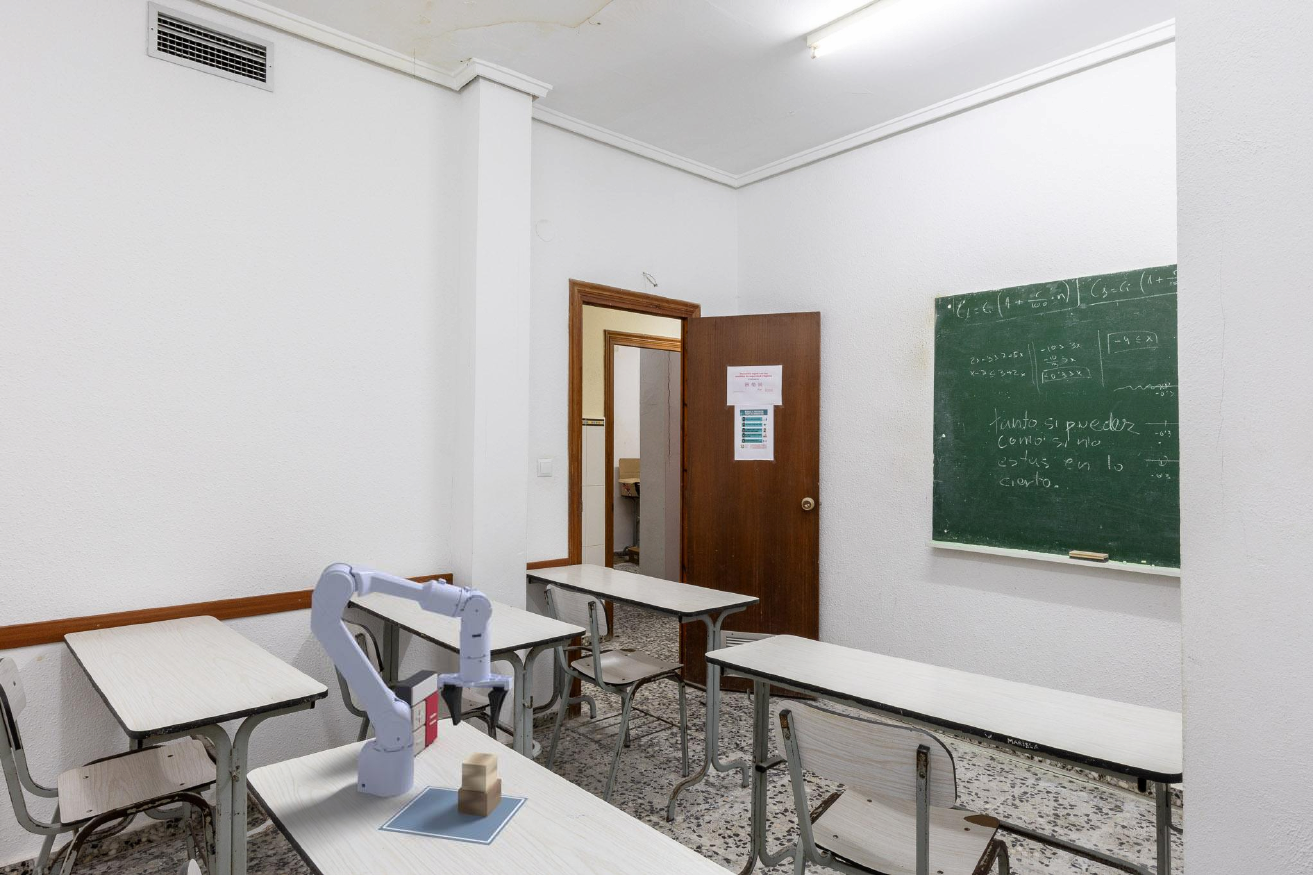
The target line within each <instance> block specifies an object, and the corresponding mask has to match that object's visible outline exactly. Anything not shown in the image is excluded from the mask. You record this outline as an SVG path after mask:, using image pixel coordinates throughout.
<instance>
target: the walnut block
mask: <svg viewBox="0 0 1313 875" xmlns="http://www.w3.org/2000/svg"><path fill="white" fill-rule="evenodd" d="M457 790H458V813H460V814H468V815H475V816H483V817H488V816H489V814H490V813H491V812H492V811H493V810H494V809H495V808H496V807H497V806H498V804H499V803H500V802H501V795H502V778H497V781H496V782H495V783H494V784H493V785H492V786H491V787H490V788H489V789H488V790H487V791H486V792H481V791H472V790H463V789H462V786H460V788H458V789H457Z"/></svg>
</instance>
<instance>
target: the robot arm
mask: <svg viewBox="0 0 1313 875" xmlns="http://www.w3.org/2000/svg"><path fill="white" fill-rule="evenodd" d="M355 592H357V598H362V597H363V596H367V595H369V594H372V593H379V594H384V595H387V596H388V595H389V596H393V597H398V598H402V599H407V600H410V601H411V600H412V601H415V602H417V603H418V605H419V606H420V608H421V610H423V611H427V612H429V613H434V614H438V615H442V616H444V617H445V616H446V617H449V618H455V619H456V618H460V630H459V672H458V673H442V674H440V675H439V676H437V688H442V690H441V691H440V696H441V698H442V699H443V700H444V702H445V705H446V706H447V708H448V711H449V715H450V716H451V717H450V718H451V720H452V725H453V726H454V727H455V726H458V725H459V724H460V723H461V722H462V697H463V688H479V689H480V688H481V689H483V688H484V689H491V690H490V691H489V692H488V693H487V698H488V703H489V712H490V721H489V722H490V723H489V724H490V728H491V729H494V728H496V727H497V725H498V724H499V720H500V715H501V712H502V711H501V710H502V707H503V704H504V701H505V699H506V697H507V695H508V692H509V691H510V690H511V689H512V688H514V681H513V680H514V677H513V676H505V675H500V674H494V673H491V629H490V623H491V622H490V619H491V617H492V614H493V607H492V604H491V602H490V600H489V599H488V596H486V595H485V593H484V592H483V591H481V590H478V589H477V588H470V587H469V586H464V587H459V586H456V585H452V584H449V583H447V581H446V579H443V578H441V577H440V578H438V580H434V579H431V580H429V581H427V582H425V583H419V582H416V581H413V580H410V579H407V578H403V577H401V576H396V575H394V574H390V573H387V572H385V571H381V570H378V569H375V568H371V567H366V566H363V565H358V564H356V565H355V564H353V566H351V565H350V564H348V563H346V562H335V563H331V564H329V565H328V566H327V567H326V568H325V569H324V570H323V571H322V573H321V574H320V576H319V579H318V580H317V582H316V585H315V587H314V590H313V591H312V593H311V612H310V629H311V632H312V633H313V635H314V636H315V638H316V639H317V640H318V643H320V645H321V646H322V648H323V650H324V651H325V652H326V654H327V655H328V656H329V658H330V659H331V661H332V662H333V663H334V665H335V666H336V668H337V669H338V671H339V672H340V673H341V676H342V677H343V678H344V679H345V681H346V682H347V684H348V685H349V687H350V688H351V690H352V691H353V692H354V694H355V695H356V697H357V698H358V699H359V701H360V703H361V704H362V706H363V707H364V709H365V712H366V713H367V716H368V719H369V722H370V724H371V725H372V726H373V728H374V731H375V739H371V740H368V741H367V742H365V743H364V745H363V746H362V747H361V749H360V752H359V754H358V759H357V792H358V793H364V794H371V795H374V796H377V797H381V798H391V797H393V798H394V797H397V796H401V795H404V794H406V793H407V792H409V791H411V790H412V789H413V788H414V783H415V781H414V780H415V756H414V736H413V735H412V733H413V727H412V723H411V709H410V707H409V705H408V704H407V703H406V702H405V701H403V700H400V699H399V698H397V697H396V696H395V692H394V691H392V690H391V689H390V688H389V687H388V686H387V685H386V684H385V682H384V680H383V679H382V678H381V677H380V674H379V673H378V672H377V670H376V669H375V668H374V666H373V665H372V663H371V662H370V660H369V658H368V657H367V655H366V654H365V653H364V651H363V650H362V648H361V646H359V644H358V642H357V641H356V640H355V638H354V637H353V635H352V634H351V632H350V631H349V629H348V628H347V626H346V625H345V623H344V622H343V621H342V617H343V614H344V611H345V607H346V606H347V604H348V603H349V601H350V600H351V599H352V597H353V595H354V593H355Z"/></svg>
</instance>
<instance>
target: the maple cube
mask: <svg viewBox="0 0 1313 875" xmlns="http://www.w3.org/2000/svg"><path fill="white" fill-rule="evenodd" d="M497 779H498V754H493V753H492V754H491V753H483V752H475V751H474V752H473V753H471V754H470V755H469V756H468V757H467V758H466V759H465V760H463V762H462V763H461V787H462V789H463V790H472V791H481V792H486V791H487V790H488V789H489V788H490V787H491V786H492V785H493V784H494V783H495V782H496V781H497Z"/></svg>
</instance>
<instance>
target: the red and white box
mask: <svg viewBox="0 0 1313 875" xmlns="http://www.w3.org/2000/svg"><path fill="white" fill-rule="evenodd" d="M437 690H438V672H437V670H428V669H427V670H425V669H421V670H420V671H417V672H416V673H414V674H412V675H411V676H409V677H408V678H405V679H404V680H402V681H400V682H399V683H397V684H396V685H394V694H395V696H396V697H397V698H399V699H400V700H403V701H405V702H406V703H407V704H408V705H409V707H410V709H411V723H412V727H413V733H412V735H413V736H414V757H415V756H417V754H419V753H420V752H421V751H423V750H424V749H425V748H426V747H428V746H429V745H430V744H431V743H433V742H434V741H435V740H437V739H438V730H439V729H438V728H439V726H438V725H439V724H438V723H439V722H438V718H439V717H438V716H439V712H438V710H439V709H438V708H439V703H438V702H439V693H438V691H437Z"/></svg>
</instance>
